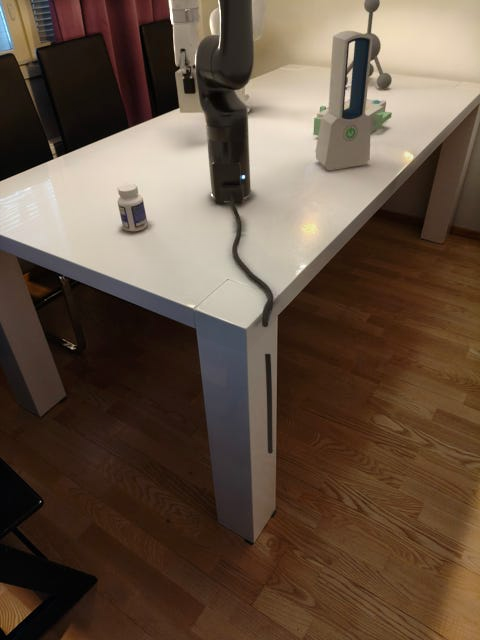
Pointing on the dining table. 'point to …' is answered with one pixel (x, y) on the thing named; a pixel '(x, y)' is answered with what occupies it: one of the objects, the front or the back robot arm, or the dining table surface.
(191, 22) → the back robot arm
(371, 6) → the molecular model
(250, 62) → the front robot arm
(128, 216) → the pill bottle
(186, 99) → the brick
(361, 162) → the electronic device
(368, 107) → the decorative block
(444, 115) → the dining table surface
